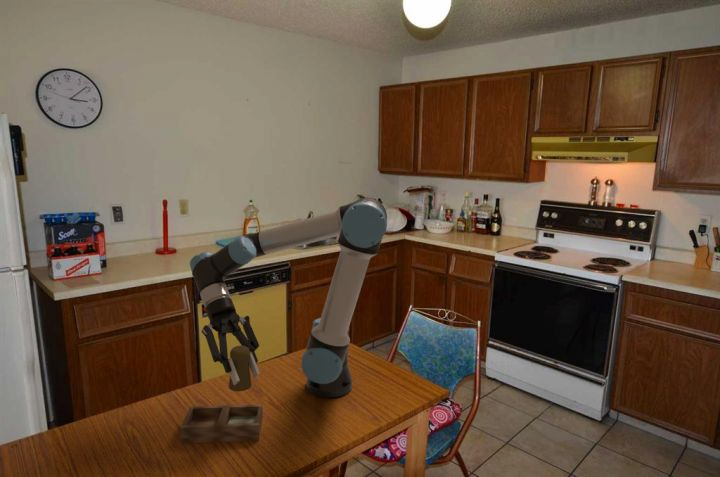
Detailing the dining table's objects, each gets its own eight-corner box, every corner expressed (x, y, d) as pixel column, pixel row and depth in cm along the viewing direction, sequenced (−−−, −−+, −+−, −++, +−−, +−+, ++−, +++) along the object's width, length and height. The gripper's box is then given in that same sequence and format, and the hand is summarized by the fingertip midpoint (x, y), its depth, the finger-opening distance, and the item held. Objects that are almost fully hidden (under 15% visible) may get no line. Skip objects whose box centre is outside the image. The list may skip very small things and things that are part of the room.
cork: (245, 392, 119) (245, 353, 117) (224, 389, 120) (223, 350, 118) (255, 381, 125) (255, 344, 123) (235, 378, 126) (234, 341, 124)
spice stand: (262, 418, 130) (262, 404, 130) (259, 440, 121) (258, 425, 120) (190, 421, 128) (190, 406, 127) (181, 443, 118) (180, 427, 118)
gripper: (242, 303, 136) (271, 374, 128) (182, 315, 124) (209, 395, 116) (251, 290, 132) (282, 363, 123) (189, 302, 119) (218, 385, 111)
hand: (247, 379), depth 119 cm, fingers closed on cork, 5 cm apart
